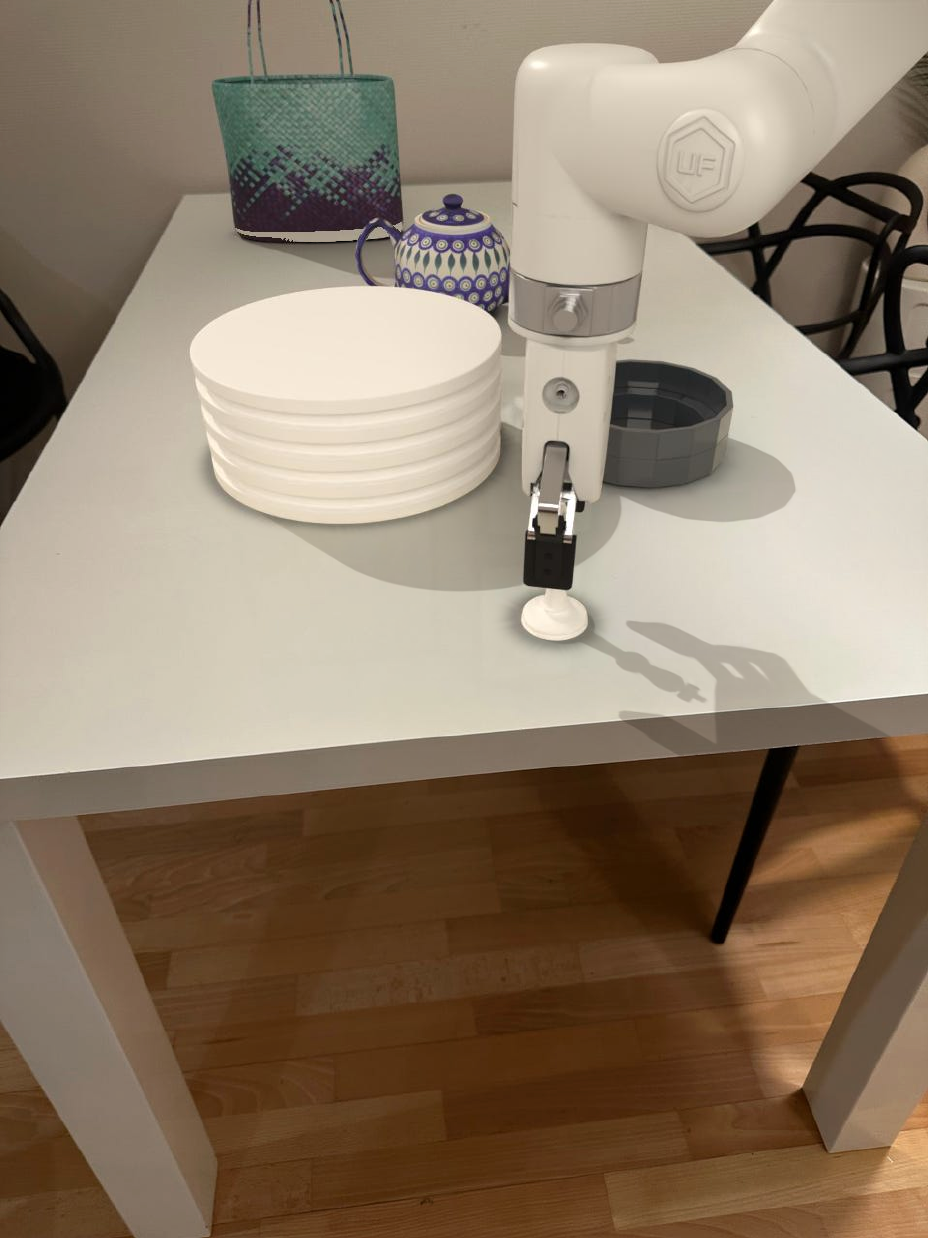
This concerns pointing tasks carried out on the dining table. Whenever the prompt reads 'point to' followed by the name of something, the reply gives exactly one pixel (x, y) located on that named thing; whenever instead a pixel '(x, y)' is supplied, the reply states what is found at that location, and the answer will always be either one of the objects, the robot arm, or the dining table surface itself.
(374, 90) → the basket
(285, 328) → the plate stack
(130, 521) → the dining table surface
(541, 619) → the chess piece
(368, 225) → the teapot
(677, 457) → the grey faceted round tub
